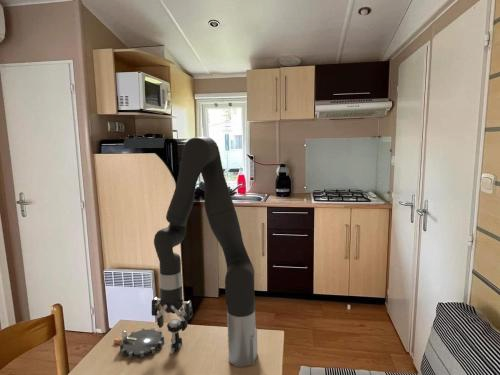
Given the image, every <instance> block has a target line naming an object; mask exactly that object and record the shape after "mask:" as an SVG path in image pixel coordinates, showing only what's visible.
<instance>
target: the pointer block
mask: <svg viewBox="0 0 500 375" xmlns="http://www.w3.org/2000/svg"><path fill="white" fill-rule="evenodd" d="M114 343H115V344H116V345H119V346H120V343H123V340H122V337H115V338H114V339H113V344H114Z"/></svg>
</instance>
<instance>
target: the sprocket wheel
mask: <svg viewBox="0 0 500 375" xmlns="http://www.w3.org/2000/svg"><path fill="white" fill-rule="evenodd" d="M162 334H163V333H162V330H160V329H159V330H156V329H155V328H154V327H151V328H150V329H145V328H141V330H137V331H132V332H130V335H128V332H127V330H126V329H123V330H122V331H121V336H122V337H121V338H122V343H120V344H119V350H120V351H121V356H122V357H125V356H128V359H129V360H133V359H134V358H140V359H145V356H149V355H152V356H154V355H155V354H156V352H157V350H158V349H162V348H163V347H164V346H163V343H165V335H164V334H163V335H162Z"/></svg>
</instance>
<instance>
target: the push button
mask: <svg viewBox="0 0 500 375" xmlns="http://www.w3.org/2000/svg"><path fill="white" fill-rule="evenodd" d="M181 321H182V320H181V319H180V318H179V319H178V318H173V319H170V321H169V322H168V323H167V324H166V328H167V331H168V332H170V333H171V338H170V340H171V343H170V354H171V355H173V354H174V353H176V352H177V351H178V350H179V349H181V347H182V345H183V339H182V337H180V331H182V328H181Z"/></svg>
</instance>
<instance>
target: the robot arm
mask: <svg viewBox="0 0 500 375" xmlns="http://www.w3.org/2000/svg"><path fill="white" fill-rule="evenodd" d="M182 149H183V150H182V154H181V159H180V160H181V161H180V165H179V171H178V176H177V181H176V185H175V189H174V191H173V195H172V198H171V200H170V203H169V205H168V208H167V211H166V216H165V219H166V221H167V222H168V223H169V224H168V226H167V227H165V228H161V229H159V230H158V231H156V233H155V235H154V238H153V245H154V249H155V252H156V255H157V258H158V261H159V278H158V279H159V280H158V281H159V297H158V296H155V297H153V299H151V316H153V317H155V318H156V319H157V320H156V322H157V327H158V328H160V329H161V328H163V326H164V315H163V314H164V313H167V314H169V313H171V314H176V316H177V317H178V318H179V319H180V321H181V328H182V329H181V331H182V332H184V331H185V330H186V329H187V328H188V321H190V320H191V318H193V315H194V314H193V304H192V300H191V299H189V300H188V301H184V299H183V294H184V293H183V275H182V260H181V256H180V254H178V253H177V252H174V249H173V248H175V247H177V246H179V245H181V243H183V241H184V239H185V237H186V232H187V226H188V225H187V224H188V223H187V222H188V219H189V217H190V215H191V211H192V208H193V205H194V202H195V201H194V200H195V193H196V187H197V186H196V185H197V182H198V180H199V177H200V175H201V176H202V180H203V187H204V209H205V213H206V216H207V221H208V224H209V226H210V230H211V231H212V233H213V236H214V237H215V239H217V241H218V243H219V245H220V247H221V249H222V251H223V255H224V259H225V264H226V274H225V278H224V279H225V280H224V289H225V290H224V291H225V305H226V314H227V315H226V316H227V319H226V320H227V321H226V322H227V343H228V344H227V345H228V346H227V349H228V352H227V353H228V361H229V362H230V364H232V365H233V366H236V367H239V368H244V367H248V366H255V364H256V360H257V357H258V329H257V327H256V301H255V268H254V265H253V264H252V261H251V259H250V257H249V254H248V251H247V250H246V247H245V243H244V240H243V235H242V231H241V226H240V222H239V218H238V214H237V211H236V208H235V205H234V201H233V198H232V195H231V193H230V192H231V191H230V189H229V185H228V183H227V180H226V178H225V177H226V176H225V173H224V169H223V165H222V164H223V163H222V158H221V152H220V149H219V146H218V144H217V142H216V141H215V140H214V139H213V138H211V137H210V136H209V137H208V136H196V137H192V138H189V139H188V140H187V141H186V142H185V144H184V146H183V148H182ZM159 305H160V306H161V309H160V310H159Z"/></svg>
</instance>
